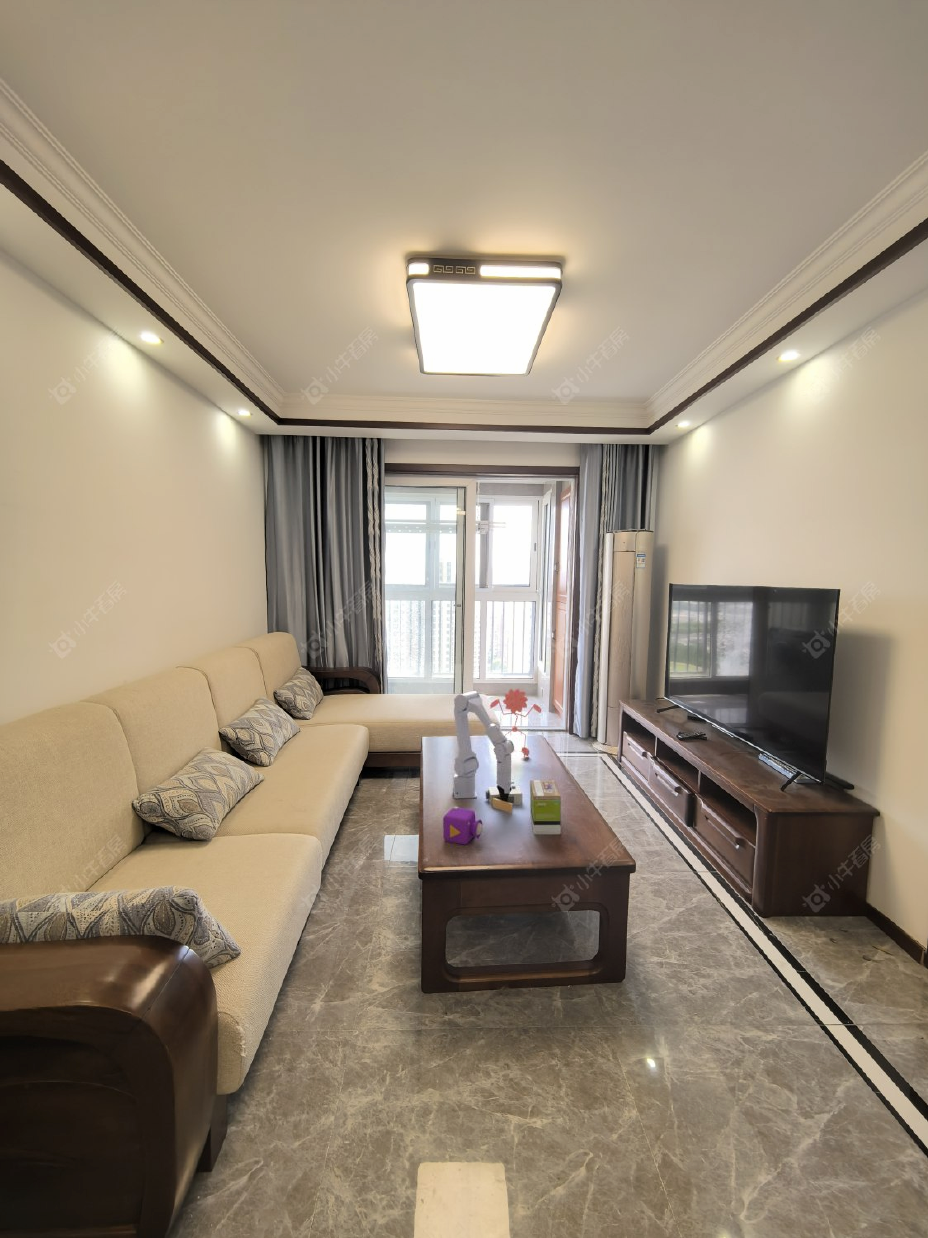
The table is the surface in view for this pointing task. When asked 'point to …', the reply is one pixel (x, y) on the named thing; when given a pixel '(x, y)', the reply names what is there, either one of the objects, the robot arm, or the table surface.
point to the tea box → (545, 807)
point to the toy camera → (461, 826)
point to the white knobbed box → (513, 797)
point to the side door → (501, 805)
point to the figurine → (516, 708)
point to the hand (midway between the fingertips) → (504, 803)
